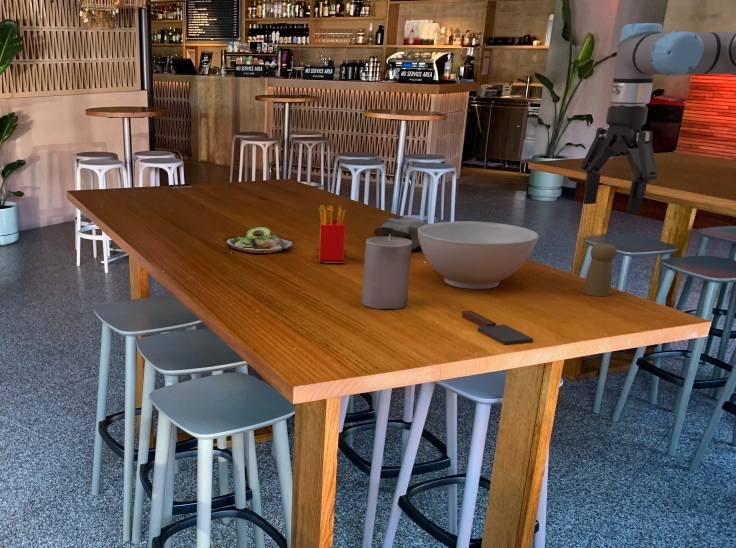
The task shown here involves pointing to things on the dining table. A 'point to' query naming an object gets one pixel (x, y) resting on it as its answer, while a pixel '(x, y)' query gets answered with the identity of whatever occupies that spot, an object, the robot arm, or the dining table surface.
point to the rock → (401, 228)
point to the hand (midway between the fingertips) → (610, 208)
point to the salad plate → (259, 241)
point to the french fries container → (331, 235)
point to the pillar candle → (386, 272)
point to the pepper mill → (600, 270)
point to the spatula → (496, 329)
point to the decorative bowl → (475, 251)
